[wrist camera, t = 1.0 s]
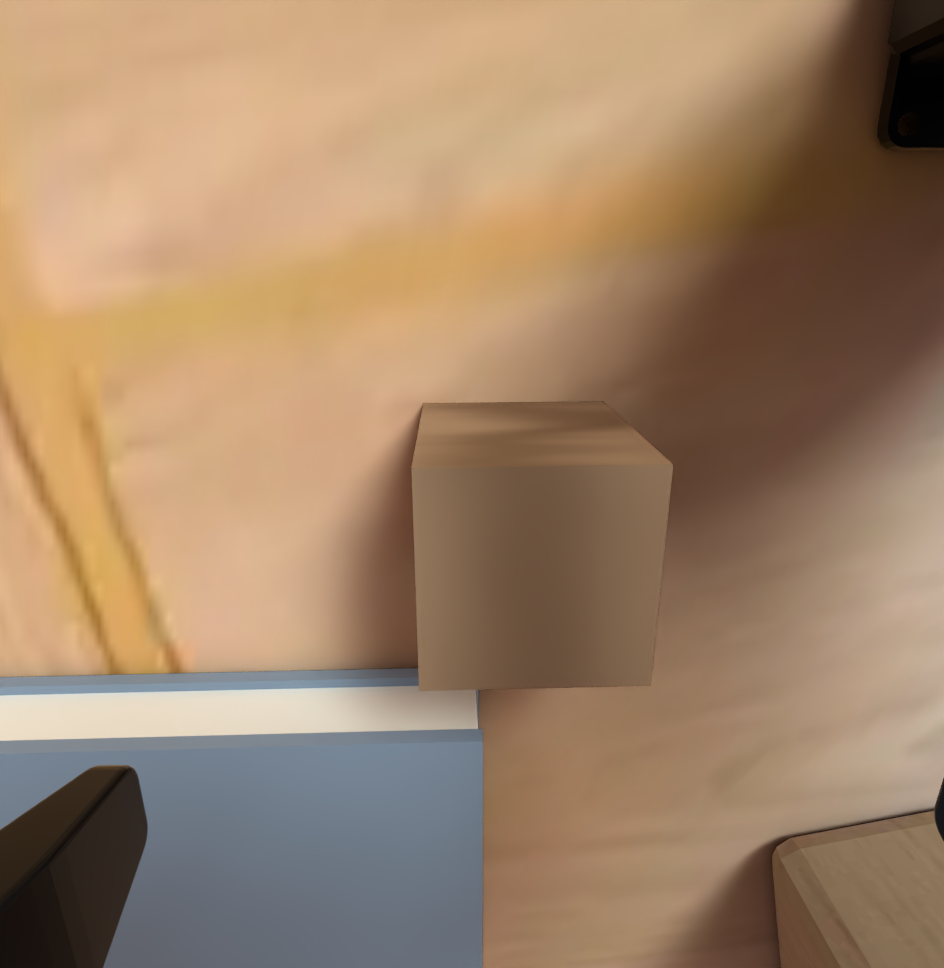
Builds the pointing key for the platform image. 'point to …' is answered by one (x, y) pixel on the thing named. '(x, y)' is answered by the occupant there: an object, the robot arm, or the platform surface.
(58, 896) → the robot arm
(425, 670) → the walnut block
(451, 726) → the book
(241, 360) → the platform surface
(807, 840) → the wooden block
